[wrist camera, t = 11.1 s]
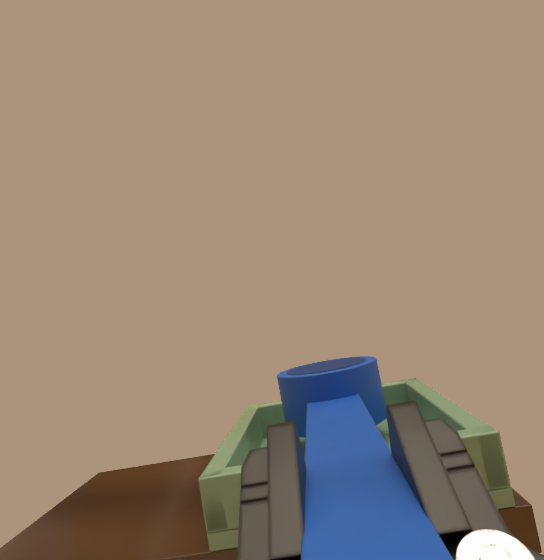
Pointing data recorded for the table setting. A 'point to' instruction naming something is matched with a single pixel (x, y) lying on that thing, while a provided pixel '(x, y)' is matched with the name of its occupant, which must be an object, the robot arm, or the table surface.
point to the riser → (156, 519)
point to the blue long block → (352, 468)
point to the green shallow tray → (253, 434)
